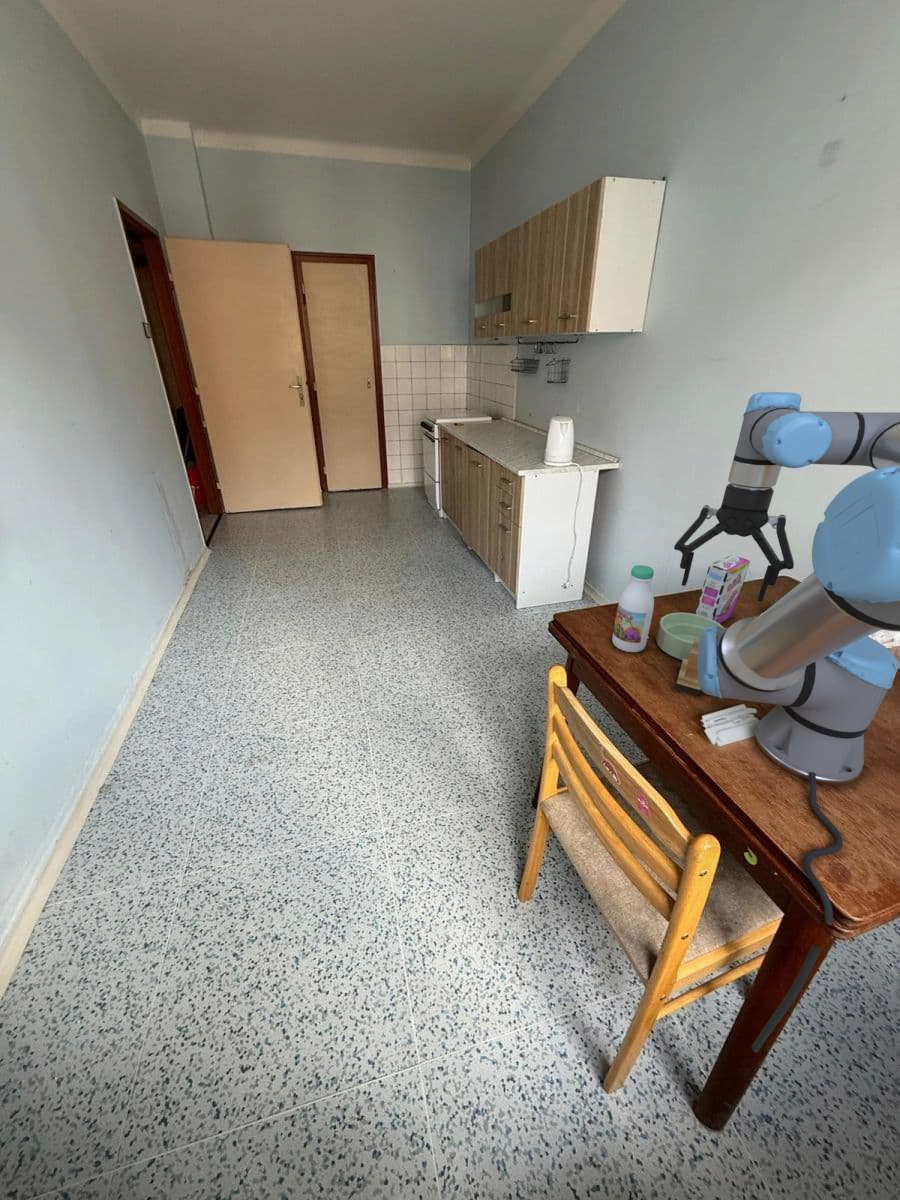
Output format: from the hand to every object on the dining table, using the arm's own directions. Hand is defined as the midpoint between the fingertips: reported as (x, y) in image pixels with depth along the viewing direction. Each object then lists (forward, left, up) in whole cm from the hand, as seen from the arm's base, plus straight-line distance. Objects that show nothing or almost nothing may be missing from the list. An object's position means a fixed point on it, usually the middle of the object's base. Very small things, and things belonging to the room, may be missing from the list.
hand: (720, 590), depth 95 cm
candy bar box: (+25, -1, -20) cm, 32 cm away
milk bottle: (+3, +16, -20) cm, 25 cm away
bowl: (+8, +3, -20) cm, 22 cm away
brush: (-6, +1, -20) cm, 21 cm away
